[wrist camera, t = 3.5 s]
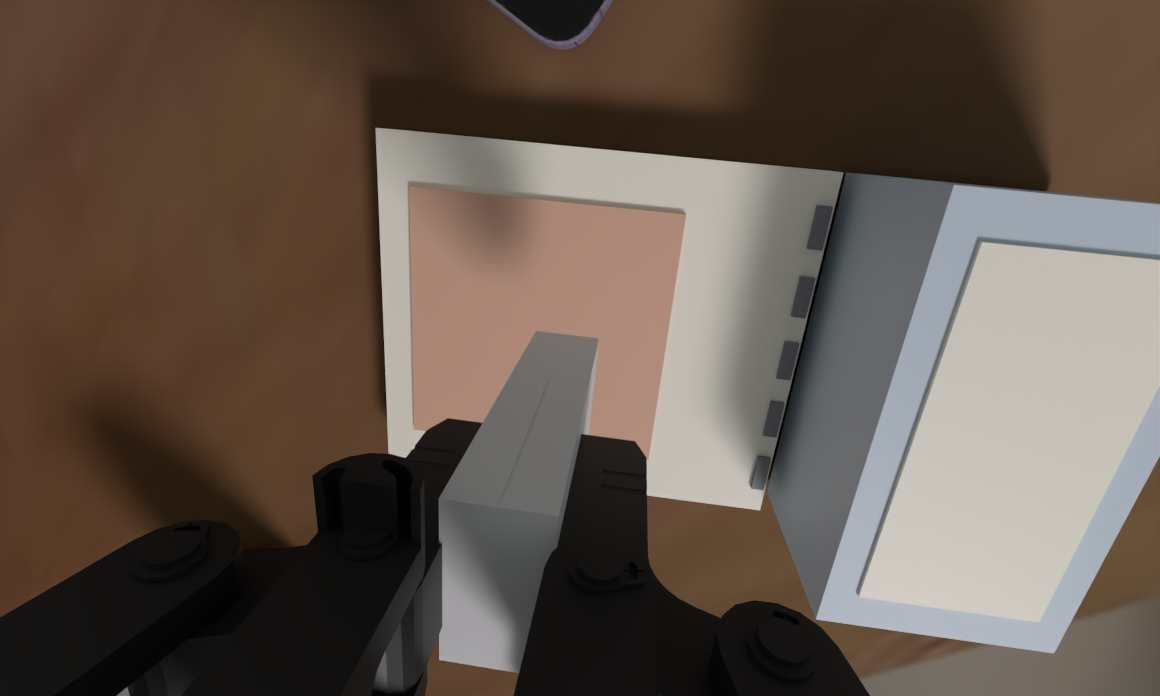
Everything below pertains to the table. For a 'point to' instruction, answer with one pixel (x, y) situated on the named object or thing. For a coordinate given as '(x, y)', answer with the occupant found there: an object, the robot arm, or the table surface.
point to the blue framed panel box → (970, 407)
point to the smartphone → (555, 19)
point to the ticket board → (603, 292)
